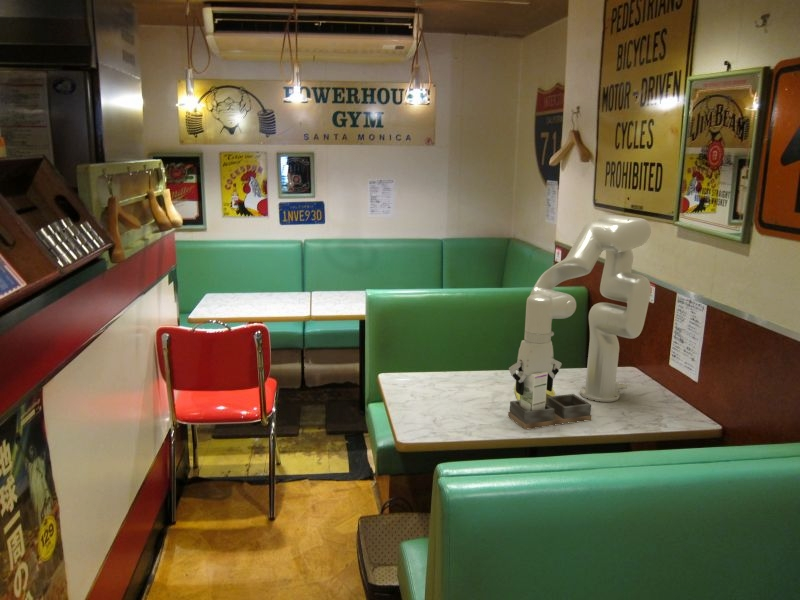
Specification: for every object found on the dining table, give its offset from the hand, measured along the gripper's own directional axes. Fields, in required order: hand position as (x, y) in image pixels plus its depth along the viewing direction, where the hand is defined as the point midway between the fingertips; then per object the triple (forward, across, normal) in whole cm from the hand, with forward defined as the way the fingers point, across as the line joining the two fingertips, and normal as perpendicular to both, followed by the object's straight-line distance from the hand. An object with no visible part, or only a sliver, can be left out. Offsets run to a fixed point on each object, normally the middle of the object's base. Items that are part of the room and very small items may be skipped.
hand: (533, 391), depth 204 cm
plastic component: (+10, -12, -19) cm, 25 cm away
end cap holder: (+9, -6, 0) cm, 11 cm away
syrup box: (+8, 0, 0) cm, 8 cm away
